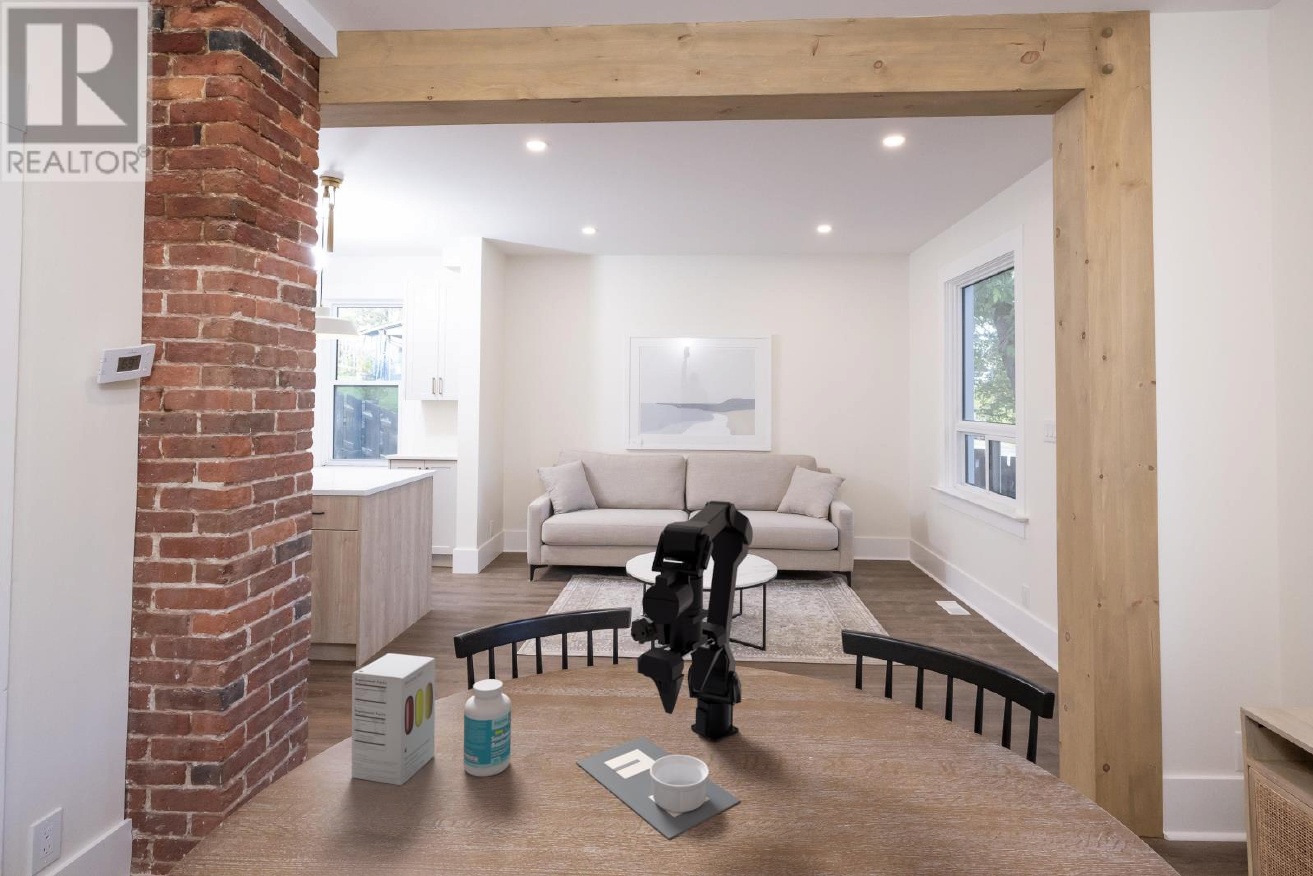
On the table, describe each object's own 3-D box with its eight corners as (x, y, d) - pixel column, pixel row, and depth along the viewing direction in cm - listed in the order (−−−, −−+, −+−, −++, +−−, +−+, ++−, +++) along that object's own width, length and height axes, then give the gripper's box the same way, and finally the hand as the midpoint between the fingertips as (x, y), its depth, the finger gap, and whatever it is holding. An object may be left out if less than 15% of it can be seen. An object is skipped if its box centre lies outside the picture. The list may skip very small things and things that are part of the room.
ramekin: (640, 807, 92) (640, 777, 92) (662, 776, 100) (663, 749, 100) (697, 822, 89) (697, 792, 89) (716, 789, 97) (716, 761, 97)
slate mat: (643, 737, 113) (643, 735, 113) (740, 801, 94) (740, 799, 94) (576, 763, 104) (576, 761, 104) (668, 839, 86) (668, 837, 86)
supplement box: (401, 787, 97) (401, 679, 96) (349, 779, 99) (349, 673, 98) (436, 755, 106) (436, 656, 106) (388, 748, 108) (388, 651, 108)
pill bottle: (498, 782, 99) (498, 696, 98) (454, 776, 100) (455, 692, 100) (518, 757, 106) (518, 677, 106) (477, 751, 107) (477, 673, 107)
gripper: (671, 582, 111) (671, 669, 112) (608, 611, 96) (607, 711, 96) (728, 593, 105) (727, 684, 106) (670, 625, 90) (669, 732, 90)
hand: (683, 701), depth 100 cm, fingers open, 9 cm apart
